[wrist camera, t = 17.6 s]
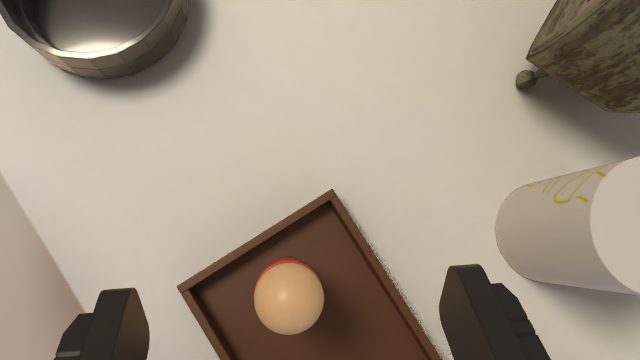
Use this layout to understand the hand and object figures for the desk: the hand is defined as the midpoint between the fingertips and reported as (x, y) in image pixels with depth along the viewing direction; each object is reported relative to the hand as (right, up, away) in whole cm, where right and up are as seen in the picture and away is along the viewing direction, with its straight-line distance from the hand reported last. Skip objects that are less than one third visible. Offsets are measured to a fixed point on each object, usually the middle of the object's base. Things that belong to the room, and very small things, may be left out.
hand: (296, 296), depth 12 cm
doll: (-2, -5, +24) cm, 24 cm away
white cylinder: (+19, -1, +27) cm, 33 cm away
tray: (0, -9, +24) cm, 26 cm away
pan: (-17, +17, +26) cm, 36 cm away
